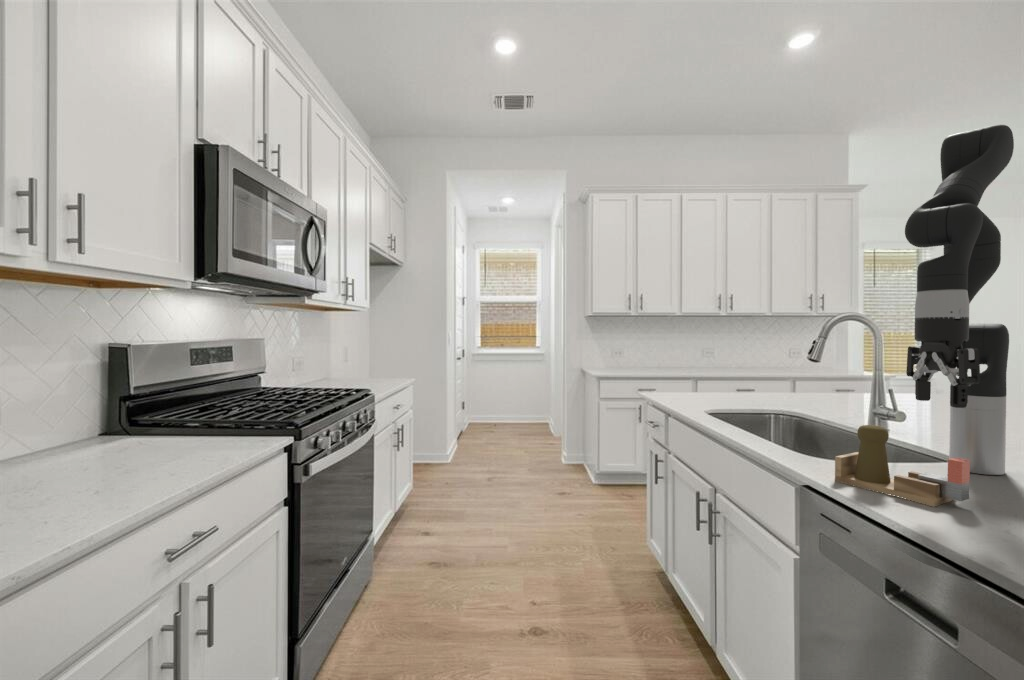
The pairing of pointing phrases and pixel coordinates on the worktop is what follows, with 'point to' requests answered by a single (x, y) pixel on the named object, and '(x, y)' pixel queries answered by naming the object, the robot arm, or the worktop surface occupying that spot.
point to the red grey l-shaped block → (952, 480)
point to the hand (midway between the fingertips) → (939, 403)
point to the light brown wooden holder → (897, 486)
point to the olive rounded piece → (872, 455)
